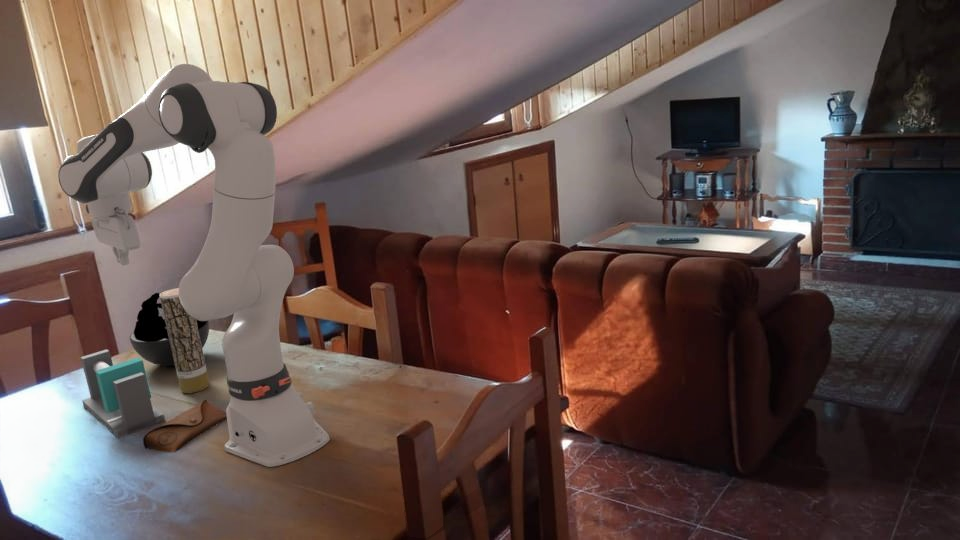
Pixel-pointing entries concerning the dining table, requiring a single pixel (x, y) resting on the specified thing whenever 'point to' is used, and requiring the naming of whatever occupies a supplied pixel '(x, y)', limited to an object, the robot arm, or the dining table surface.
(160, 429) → the sunglasses case
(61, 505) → the dining table surface
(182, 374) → the log-textured cylinder
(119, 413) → the pipe stand
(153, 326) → the bowl of black rocks
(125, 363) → the teal upright slab
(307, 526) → the dining table surface
